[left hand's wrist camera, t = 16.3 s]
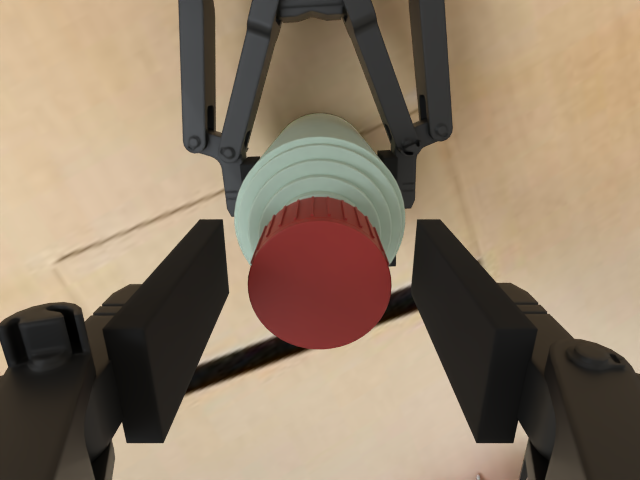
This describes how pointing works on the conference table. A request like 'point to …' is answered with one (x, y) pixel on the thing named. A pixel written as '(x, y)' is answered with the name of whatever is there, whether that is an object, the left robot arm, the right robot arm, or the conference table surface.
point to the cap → (319, 274)
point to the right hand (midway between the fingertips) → (323, 259)
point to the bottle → (319, 180)
